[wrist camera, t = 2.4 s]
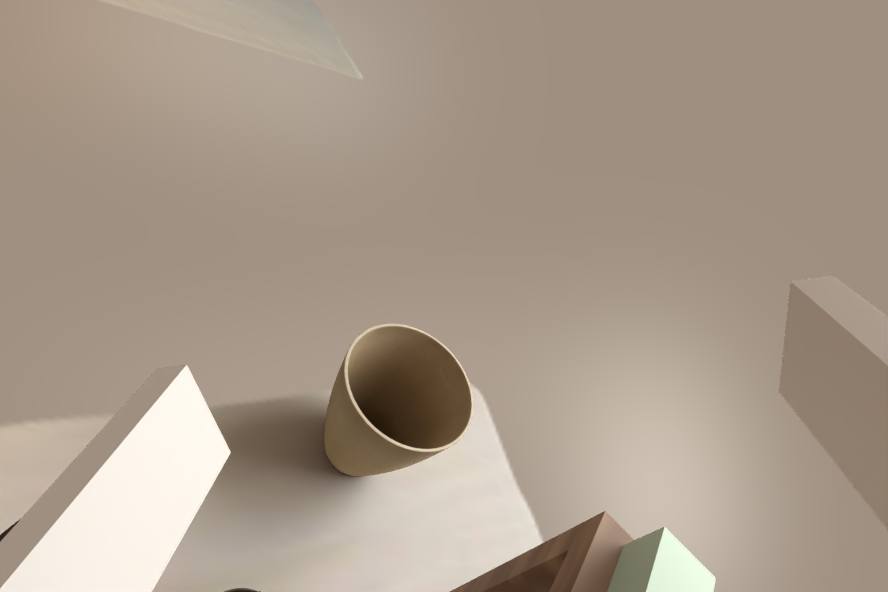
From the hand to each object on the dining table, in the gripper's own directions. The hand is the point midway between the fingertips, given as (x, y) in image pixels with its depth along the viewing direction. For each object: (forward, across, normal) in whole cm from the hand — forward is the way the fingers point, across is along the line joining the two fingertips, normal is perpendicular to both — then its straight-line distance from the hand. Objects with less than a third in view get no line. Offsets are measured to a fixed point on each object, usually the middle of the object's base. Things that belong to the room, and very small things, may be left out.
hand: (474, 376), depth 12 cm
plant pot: (+38, +22, +36) cm, 57 cm away
